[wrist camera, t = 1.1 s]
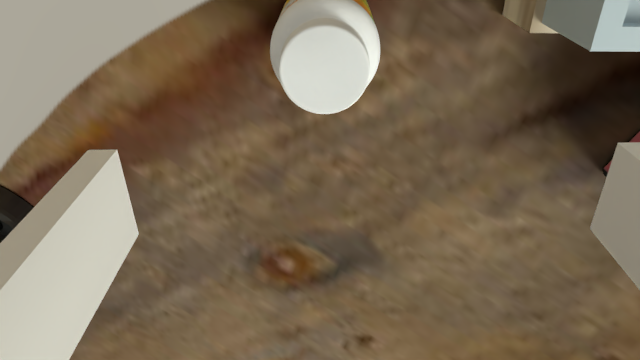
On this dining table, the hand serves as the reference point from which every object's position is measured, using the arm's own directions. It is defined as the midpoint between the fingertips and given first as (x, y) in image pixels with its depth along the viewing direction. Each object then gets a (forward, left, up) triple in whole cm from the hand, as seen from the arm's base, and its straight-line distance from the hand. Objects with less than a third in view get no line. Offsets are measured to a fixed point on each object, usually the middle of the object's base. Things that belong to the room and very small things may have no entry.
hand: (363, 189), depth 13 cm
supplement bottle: (-1, 0, -19) cm, 19 cm away
